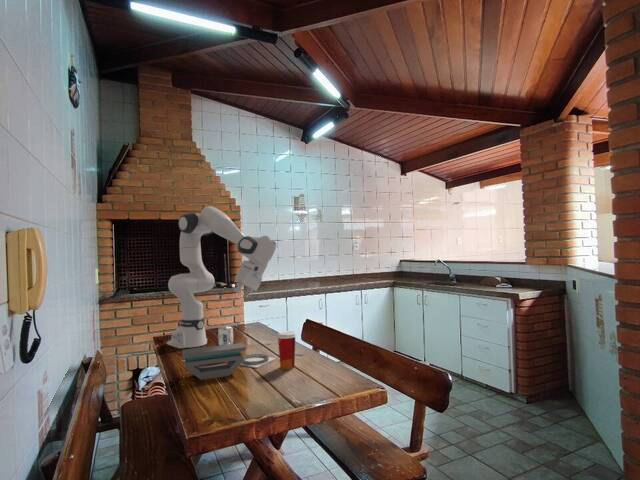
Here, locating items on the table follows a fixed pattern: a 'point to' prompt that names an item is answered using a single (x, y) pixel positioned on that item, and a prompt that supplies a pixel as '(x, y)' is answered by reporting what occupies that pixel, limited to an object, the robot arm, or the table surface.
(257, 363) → the steel ring collar
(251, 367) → the pale board
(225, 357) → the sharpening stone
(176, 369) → the table surface
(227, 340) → the steel tumbler
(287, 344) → the coffee cup
